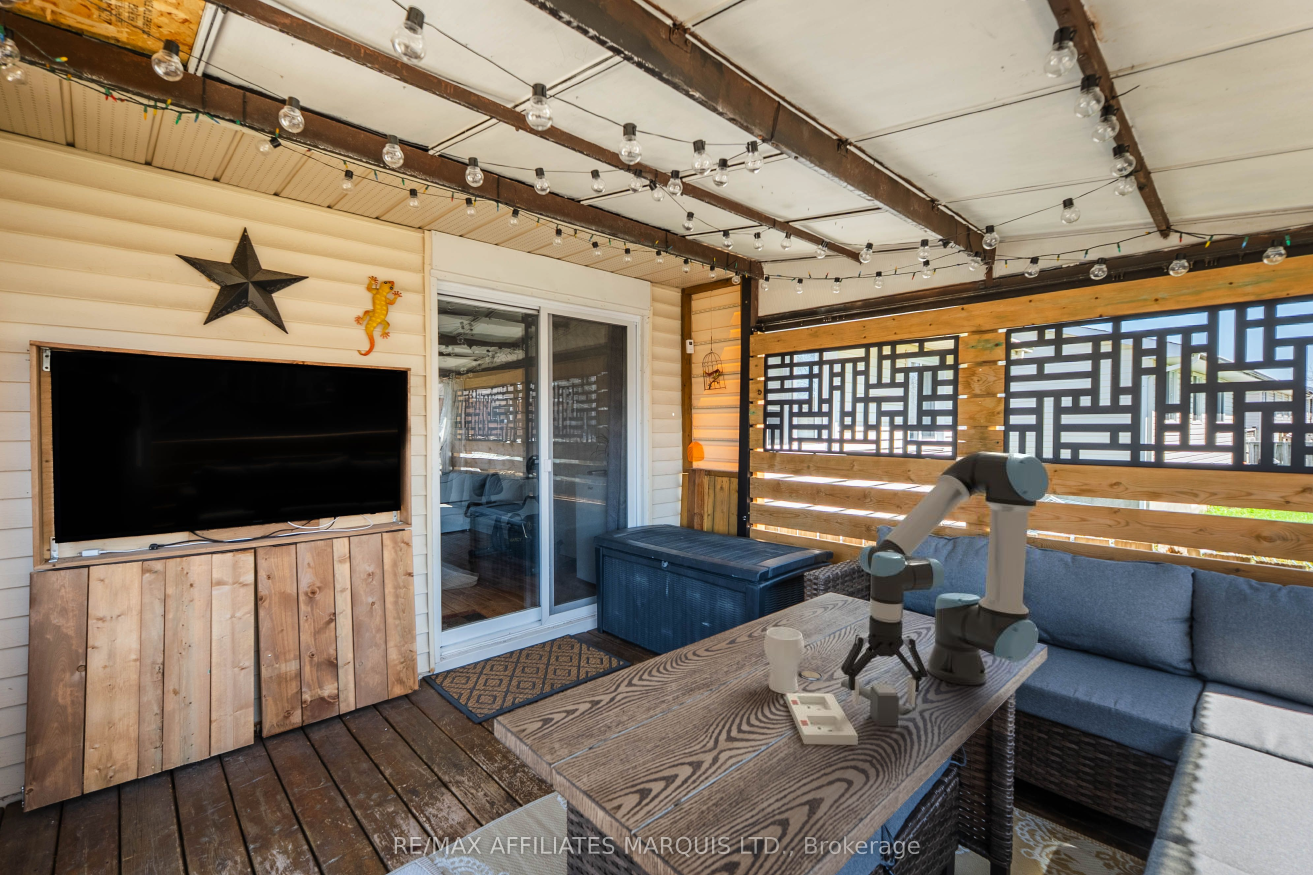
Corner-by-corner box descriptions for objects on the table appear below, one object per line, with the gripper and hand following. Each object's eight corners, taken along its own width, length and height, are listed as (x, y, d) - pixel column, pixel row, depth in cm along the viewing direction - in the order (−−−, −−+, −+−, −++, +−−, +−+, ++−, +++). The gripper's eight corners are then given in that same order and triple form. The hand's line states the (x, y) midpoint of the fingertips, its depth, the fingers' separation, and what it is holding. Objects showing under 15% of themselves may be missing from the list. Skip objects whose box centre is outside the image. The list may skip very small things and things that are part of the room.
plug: (890, 715, 146) (890, 683, 146) (898, 726, 141) (898, 693, 141) (869, 715, 146) (870, 683, 146) (877, 725, 141) (878, 692, 141)
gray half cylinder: (849, 683, 165) (850, 676, 165) (912, 713, 148) (912, 706, 148) (839, 686, 163) (839, 680, 163) (901, 717, 146) (901, 710, 146)
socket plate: (832, 701, 153) (832, 693, 153) (857, 744, 133) (857, 734, 133) (785, 701, 153) (785, 692, 153) (804, 743, 133) (804, 733, 133)
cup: (804, 698, 154) (805, 641, 154) (763, 694, 157) (763, 638, 156) (802, 680, 165) (803, 627, 164) (763, 677, 167) (764, 624, 167)
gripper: (930, 613, 146) (927, 697, 147) (830, 610, 147) (827, 694, 147) (945, 623, 139) (941, 712, 139) (839, 620, 139) (836, 709, 140)
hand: (882, 703), depth 143 cm, fingers open, 13 cm apart
